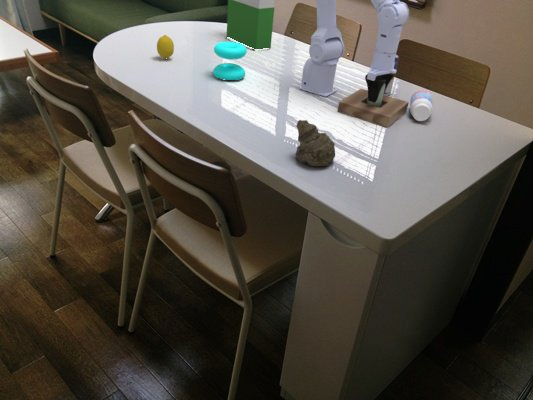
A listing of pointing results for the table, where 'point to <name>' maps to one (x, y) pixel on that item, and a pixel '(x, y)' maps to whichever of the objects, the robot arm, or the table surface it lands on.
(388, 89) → the energy drink
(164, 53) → the lemon
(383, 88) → the peg
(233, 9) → the green and white box
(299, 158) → the brown lumpy stone
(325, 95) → the robot arm
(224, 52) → the donuts
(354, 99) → the socket block
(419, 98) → the pill bottle
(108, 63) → the table surface
